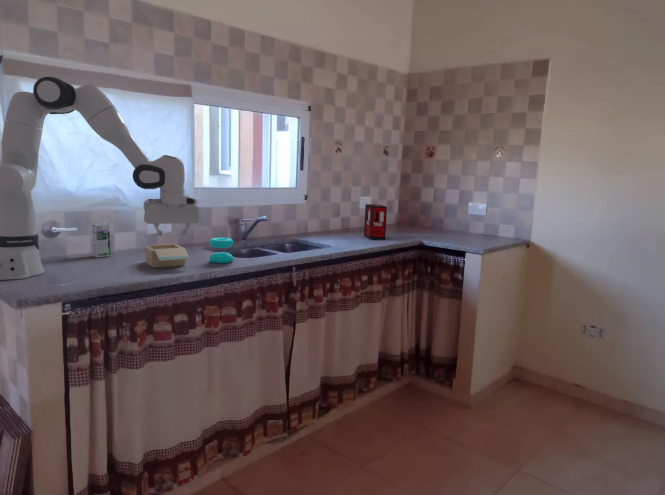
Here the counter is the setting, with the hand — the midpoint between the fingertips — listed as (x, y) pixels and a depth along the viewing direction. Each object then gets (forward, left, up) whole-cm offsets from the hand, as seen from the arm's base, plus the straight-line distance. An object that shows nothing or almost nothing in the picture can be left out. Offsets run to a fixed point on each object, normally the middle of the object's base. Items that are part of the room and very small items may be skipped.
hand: (172, 235), depth 182 cm
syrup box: (-19, +40, -14) cm, 47 cm away
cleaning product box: (+133, +39, -14) cm, 139 cm away
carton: (0, +13, -14) cm, 19 cm away
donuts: (+23, +8, -14) cm, 28 cm away
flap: (0, +6, -6) cm, 9 cm away
